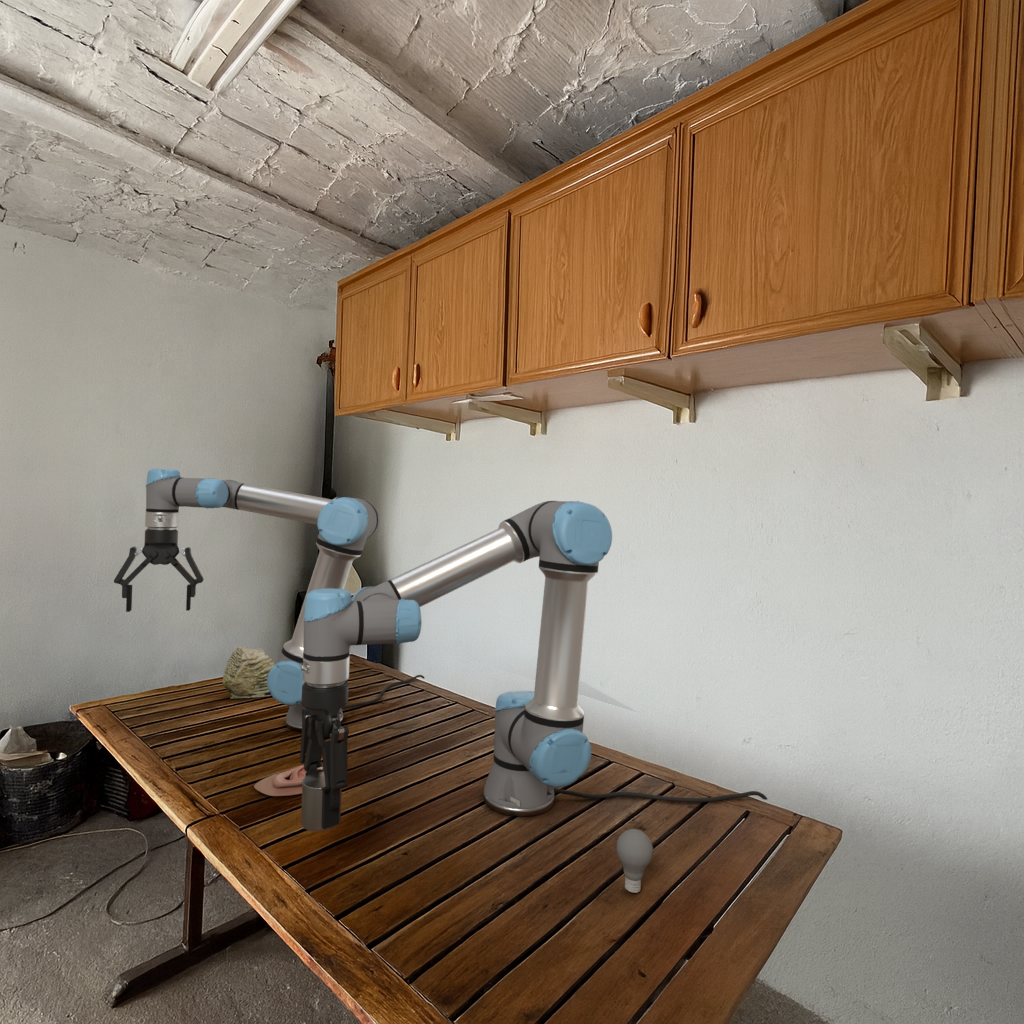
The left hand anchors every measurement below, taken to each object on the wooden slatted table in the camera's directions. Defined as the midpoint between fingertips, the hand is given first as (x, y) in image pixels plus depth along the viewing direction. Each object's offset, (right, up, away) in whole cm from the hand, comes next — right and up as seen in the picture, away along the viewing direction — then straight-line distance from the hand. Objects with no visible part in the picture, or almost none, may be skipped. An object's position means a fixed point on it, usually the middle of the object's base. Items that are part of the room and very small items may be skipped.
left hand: (158, 610), depth 164 cm
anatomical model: (+43, -34, -26) cm, 61 cm away
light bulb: (+112, -38, -59) cm, 132 cm away
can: (+59, -27, -57) cm, 87 cm away
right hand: (+59, -26, -57) cm, 86 cm away
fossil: (+11, -32, +34) cm, 48 cm away
